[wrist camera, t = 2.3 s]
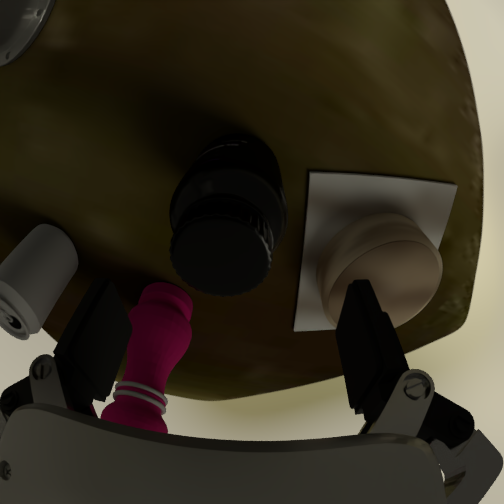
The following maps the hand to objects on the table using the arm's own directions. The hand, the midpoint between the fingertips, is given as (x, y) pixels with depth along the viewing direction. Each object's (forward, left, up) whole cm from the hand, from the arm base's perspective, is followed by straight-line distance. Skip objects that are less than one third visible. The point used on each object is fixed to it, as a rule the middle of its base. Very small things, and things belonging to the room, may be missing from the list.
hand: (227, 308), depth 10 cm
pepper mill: (+15, -9, -15) cm, 23 cm away
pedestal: (+10, +14, -15) cm, 22 cm away
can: (+7, -22, -15) cm, 28 cm away
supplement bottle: (0, 0, -15) cm, 15 cm away
